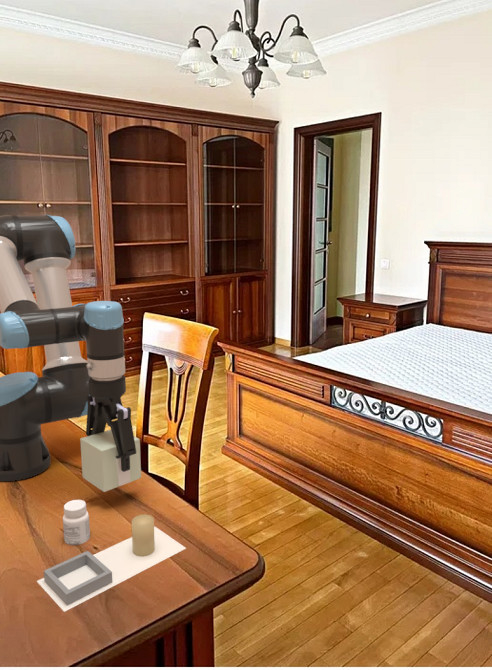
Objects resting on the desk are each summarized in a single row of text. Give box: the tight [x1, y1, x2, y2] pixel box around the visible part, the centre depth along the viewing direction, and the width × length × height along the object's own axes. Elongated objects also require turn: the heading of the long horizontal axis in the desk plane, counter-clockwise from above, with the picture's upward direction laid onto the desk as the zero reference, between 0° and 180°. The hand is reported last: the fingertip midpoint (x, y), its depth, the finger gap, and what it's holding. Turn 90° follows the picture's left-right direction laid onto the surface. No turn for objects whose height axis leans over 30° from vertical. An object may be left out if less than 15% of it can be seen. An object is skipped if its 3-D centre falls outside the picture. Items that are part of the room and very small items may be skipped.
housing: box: [79, 429, 142, 493], centre depth 117 cm, size 9×9×9 cm
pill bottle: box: [62, 499, 91, 546], centre depth 103 cm, size 5×5×8 cm
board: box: [36, 514, 187, 613], centre depth 95 cm, size 10×24×8 cm, turn 134°
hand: (111, 475), depth 117 cm, fingers closed on housing, 9 cm apart
